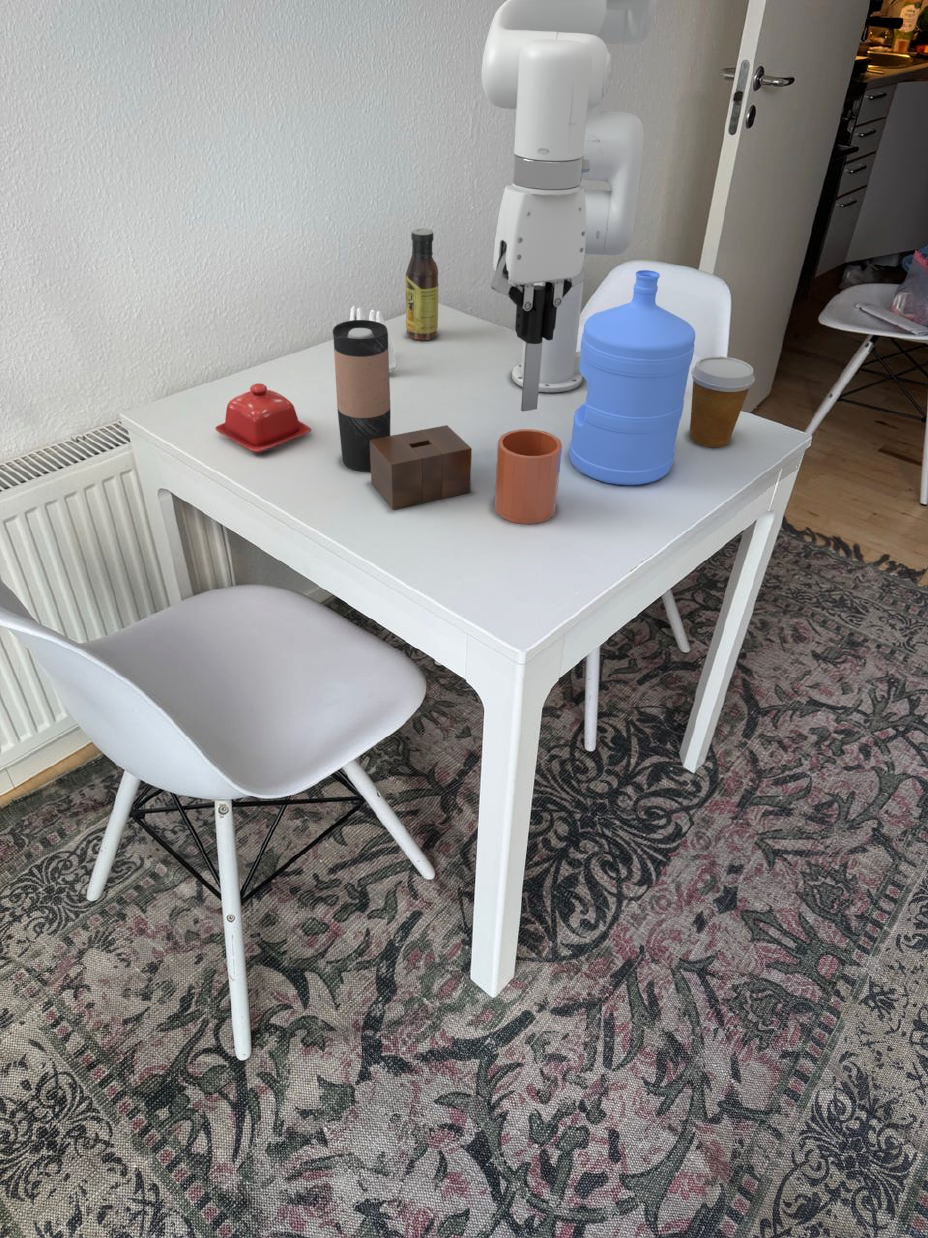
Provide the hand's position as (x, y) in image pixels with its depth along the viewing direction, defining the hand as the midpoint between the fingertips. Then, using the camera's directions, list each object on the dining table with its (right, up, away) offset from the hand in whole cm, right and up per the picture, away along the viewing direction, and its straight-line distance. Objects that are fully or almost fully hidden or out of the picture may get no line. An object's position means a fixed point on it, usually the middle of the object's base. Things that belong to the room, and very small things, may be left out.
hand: (534, 337), depth 109 cm
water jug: (+15, -11, +26) cm, 32 cm away
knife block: (-15, -16, +19) cm, 29 cm away
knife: (0, -8, +6) cm, 10 cm away
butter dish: (-40, -6, +30) cm, 51 cm away
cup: (0, -19, +15) cm, 24 cm away
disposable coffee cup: (+31, -6, +34) cm, 46 cm away
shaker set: (-26, +11, +53) cm, 60 cm away
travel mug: (-23, -11, +25) cm, 36 cm away
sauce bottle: (-17, +21, +66) cm, 72 cm away
